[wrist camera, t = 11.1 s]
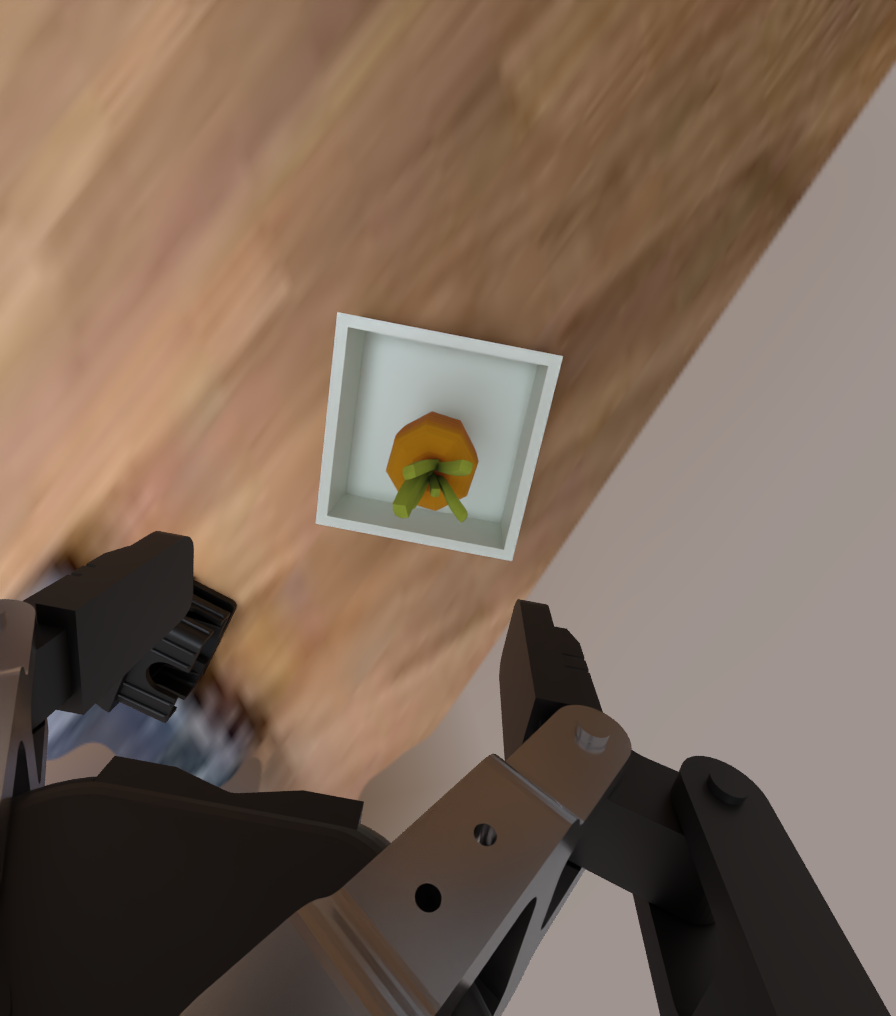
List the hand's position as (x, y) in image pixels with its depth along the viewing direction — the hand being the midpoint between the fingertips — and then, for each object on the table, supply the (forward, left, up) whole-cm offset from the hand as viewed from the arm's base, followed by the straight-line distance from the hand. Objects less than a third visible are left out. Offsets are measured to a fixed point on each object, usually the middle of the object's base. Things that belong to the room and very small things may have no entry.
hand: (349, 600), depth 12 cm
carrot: (0, 0, -25) cm, 25 cm away
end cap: (+21, -19, -26) cm, 39 cm away
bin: (0, 0, -26) cm, 26 cm away
